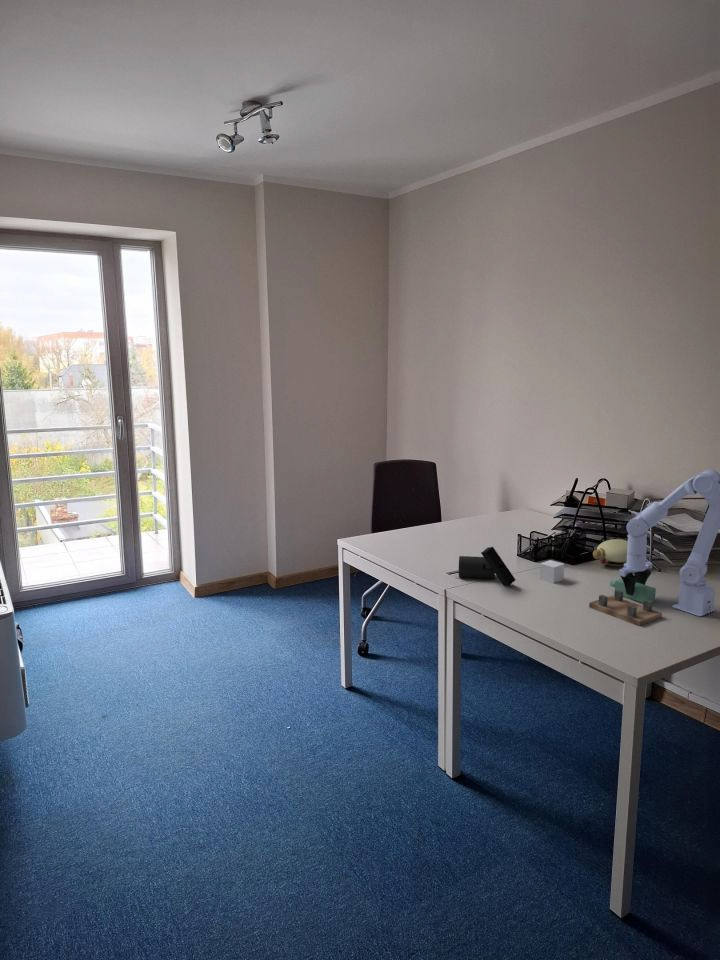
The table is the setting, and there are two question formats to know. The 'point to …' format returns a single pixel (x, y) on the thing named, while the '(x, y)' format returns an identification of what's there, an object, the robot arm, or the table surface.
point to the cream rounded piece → (612, 551)
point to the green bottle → (636, 591)
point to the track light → (485, 567)
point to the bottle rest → (626, 609)
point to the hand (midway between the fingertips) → (634, 592)
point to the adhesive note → (551, 571)
